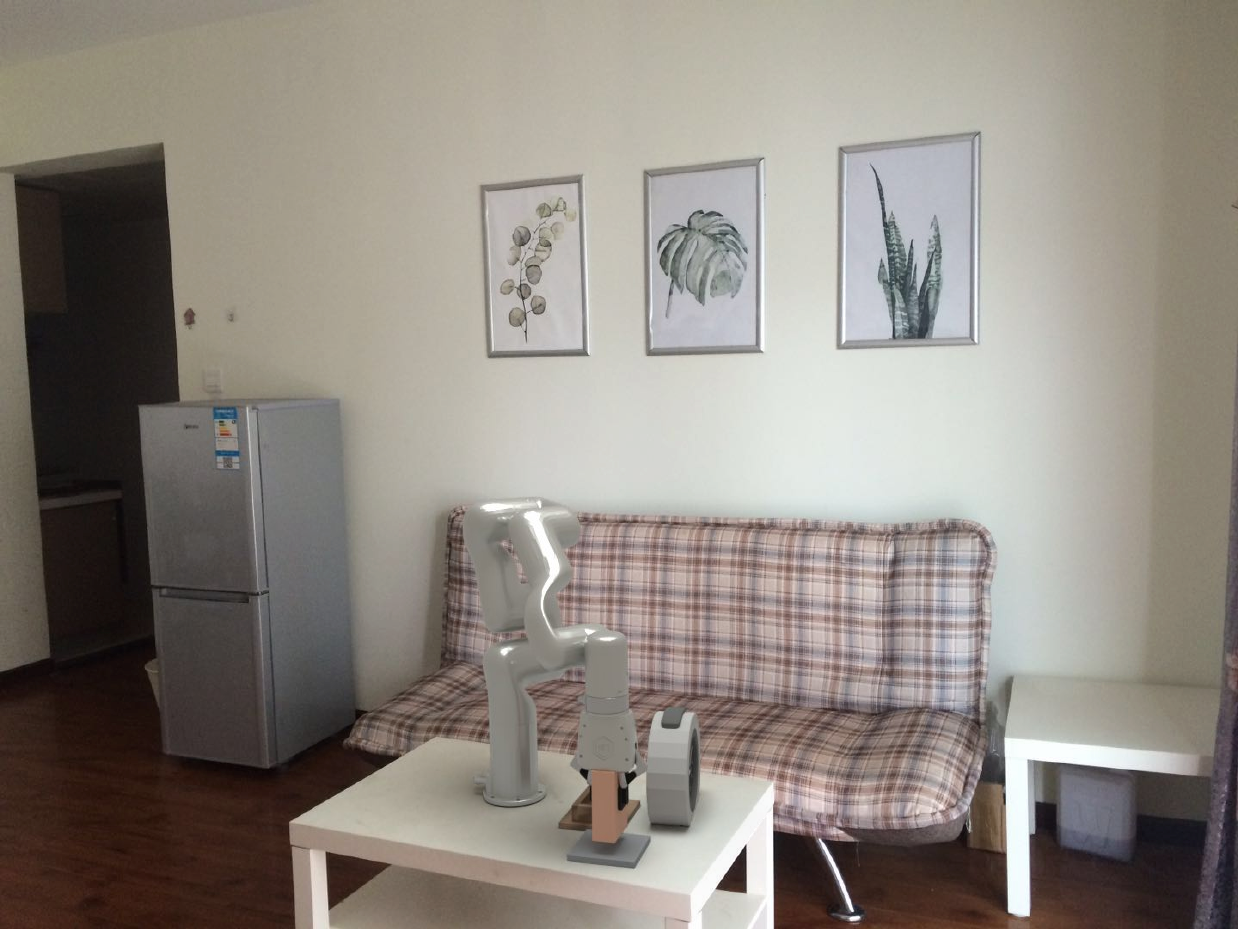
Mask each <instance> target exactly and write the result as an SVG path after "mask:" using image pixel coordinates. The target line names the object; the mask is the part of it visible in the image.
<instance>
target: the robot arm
mask: <svg viewBox="0 0 1238 929" xmlns="http://www.w3.org/2000/svg"><path fill="white" fill-rule="evenodd" d="M581 527H582V526H581V523H580V520H579V518H578V516H577V515H576V512H575V511H574V510H573V509H572V508H570V507H569V506H567V505H565V504H562V503H560V502H557V501H553V500H550V499H548V498H544V497H540V496H525V497H524V496H523V497H512V498H511V497H510V498H509V497H508V498H507V497H506V498H505V497H504V498H494V499H493V498H492V499H491V498H490V499H486V500H481V501H479V502H475V503H472V505H470V506H469V507H468V508H467V509H466V511H465V512H464V515H463V520H462V536H463V541H464V546H465V548H466V550H467V552H468V554H469V557H470V559H471V562H472V566H473V569H474V571H475V576H476V584H477V589H478V598H479V601H480V602H479V603H480V607H481V608H480V609H481V615H482V618H483V623H484V626H485V628H486V629H487V631H489V632H490V633H492V634H499V635H500V634H510V633H517V632H522V631H523V632H524V631H525V632H524V633H525V635H526V636H525V637H516V638H512V639H506V640H501V641H498V642H496V643H493V644H492V645H491V646H489V647H488V648H487V649H486V651H485V652H484V654H483V657H482V668H483V675H484V679H485V683H486V689H487V698H488V700H487V701H488V718H489V754H490V755H489V760H490V761H489V762H490V763H489V764H490V770H489V771H484V770H474V771H473V774H472V779H473V784H475V785H484V786H485V787H484V789H483V792H482V793H483V799H484V800H485V801H486V802H487V803H489V804H491V805H495V806H499V807H522V806H527V805H532V804H535V803H537V802H539V801H541V800H542V799H543V798H545V796H546V795H547V788H546V786H545V784H543V783H542V782H540V781H539V765H538V764H539V763H538V761H539V760H538V757H539V756H538V720H537V719H538V715H537V714H538V713H537V706H536V704H535V701H534V700H533V698H532V697H531V696H530V694H529V693H528V692H527V690H526V688H527V686H531V685H535V684H540V683H541V684H542V683H545V682H549V681H554V680H558V679H560V678H561V677H563V676H564V674H565V672H566V671H568V670H573V669H578V668H584V683H585V684H584V685H585V686H584V687H585V689H584V691H585V693H584V694H578V697H577V703H581V704H583V705H584V708H583V709H582V710H581V711H580V716H579V723H578V730H577V733H578V734H577V745H576V746H577V750H576V753H575V754H574V756H573V758H572V759H571V761H570V763H569V766H570V767H571V768H573V769H574V770H576V772H578V773H579V774H580V775H581V776H582V778H583V779H584V780H585V781H586V783H587V785H588V786H589V785H590V801H592V772H591V771H592V770H603V771H615V772H618V777H619V782H620V783H619V788H618V810H619V811H622V810H623V809H624V807H625V806H626V804H628V802H629V799H630V792H629V786H630V785H631V783H632V782H633V781H634V780H635V779H636V778H638V777H640V776H641V775H643V774H645V773H646V771H647V769H648V767H647V762H645V760H644V759H643V757H642V755H641V753H640V752H639V744H638V734H637V733H638V732H637V727H636V721H635V716H634V712H633V710H632V708H630V706H629V705H630V702H629V700H630V699H629V696H630V695H629V694H630V693H629V656H628V651H629V650H628V649H629V648H628V638H627V637H626V635H625V634H624V633H622V632H621V631H618V630H617V631H616V630H610V629H609V628H607V626H605V625H603V624H601V623H598V622H590V623H589V622H588V623H582V624H576V625H568V626H563V622H562V616H561V615H562V614H561V609H560V605H559V604H560V603H559V601H558V598H557V596H556V594H558V593H559V592H561V591H562V590H563V589H565V588H566V587H567V586H568V584H570V582H571V581H572V579H573V576H574V570H573V567H572V565H571V563H570V561H569V559H568V557H567V554H566V553H565V550H564V549H567V548H572V547H574V546H575V545H577V543H578V542H579V541H580V538H581V534H582V528H581ZM501 541H502V542H503V541H511V546H512V547H513V550H514V552H515V554H516V556H517V558H518V560H519V563H520V565H521V568H522V570H523V572H524V574H525V577H526V579H527V582H526V583H521V581H520V577H519V572H518V567H517V562H516V560H515V558H514V557H513V555H512V554H511V553H510V551H509V550H508V549H507V548H506V546H504V545H503V544H501V543H500V542H501ZM634 766H636V768H635V767H634ZM633 768H634V769H633Z"/></svg>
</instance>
